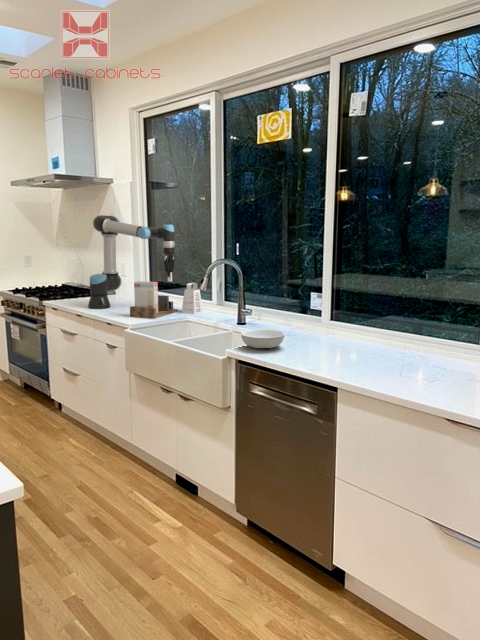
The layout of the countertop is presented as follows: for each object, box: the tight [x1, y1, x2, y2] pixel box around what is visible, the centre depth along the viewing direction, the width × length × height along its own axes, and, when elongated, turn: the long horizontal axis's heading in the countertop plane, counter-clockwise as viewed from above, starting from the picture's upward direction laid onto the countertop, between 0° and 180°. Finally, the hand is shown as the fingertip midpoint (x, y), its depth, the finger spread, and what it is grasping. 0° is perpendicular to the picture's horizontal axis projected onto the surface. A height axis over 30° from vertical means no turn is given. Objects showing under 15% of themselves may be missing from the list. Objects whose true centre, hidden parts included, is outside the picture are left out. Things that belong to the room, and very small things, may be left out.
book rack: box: [129, 305, 179, 320], centre depth 314 cm, size 18×31×6 cm, turn 159°
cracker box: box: [133, 280, 159, 314], centre depth 304 cm, size 14×6×21 cm, turn 75°
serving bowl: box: [240, 328, 285, 349], centre depth 228 cm, size 21×21×7 cm
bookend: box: [158, 294, 174, 311], centre depth 322 cm, size 14×10×10 cm
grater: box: [181, 282, 204, 315], centre depth 320 cm, size 10×10×20 cm
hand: (169, 281), depth 330 cm, fingers closed
